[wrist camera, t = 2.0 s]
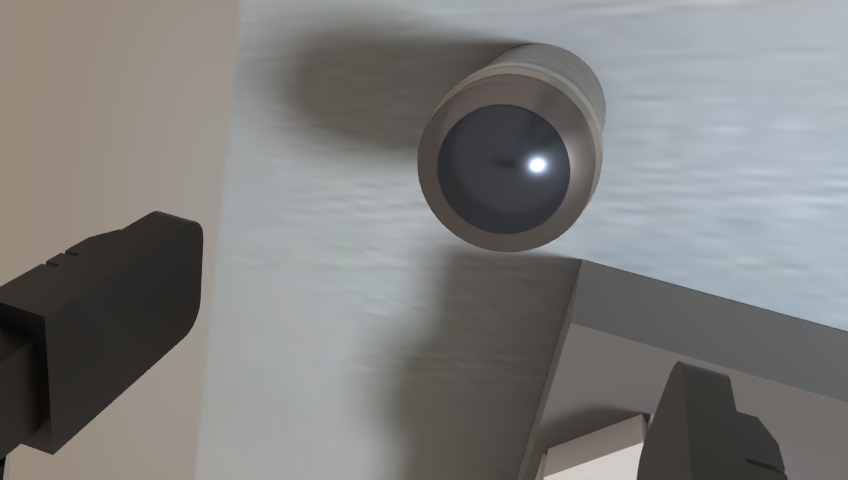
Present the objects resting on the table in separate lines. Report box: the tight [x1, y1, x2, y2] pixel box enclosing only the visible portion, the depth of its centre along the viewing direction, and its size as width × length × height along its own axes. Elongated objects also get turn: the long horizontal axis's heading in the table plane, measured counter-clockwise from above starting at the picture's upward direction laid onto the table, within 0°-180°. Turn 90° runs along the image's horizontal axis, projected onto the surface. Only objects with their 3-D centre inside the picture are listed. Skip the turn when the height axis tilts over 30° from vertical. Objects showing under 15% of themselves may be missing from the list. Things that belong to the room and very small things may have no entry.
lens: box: [418, 44, 606, 252], centre depth 23 cm, size 5×5×7 cm
